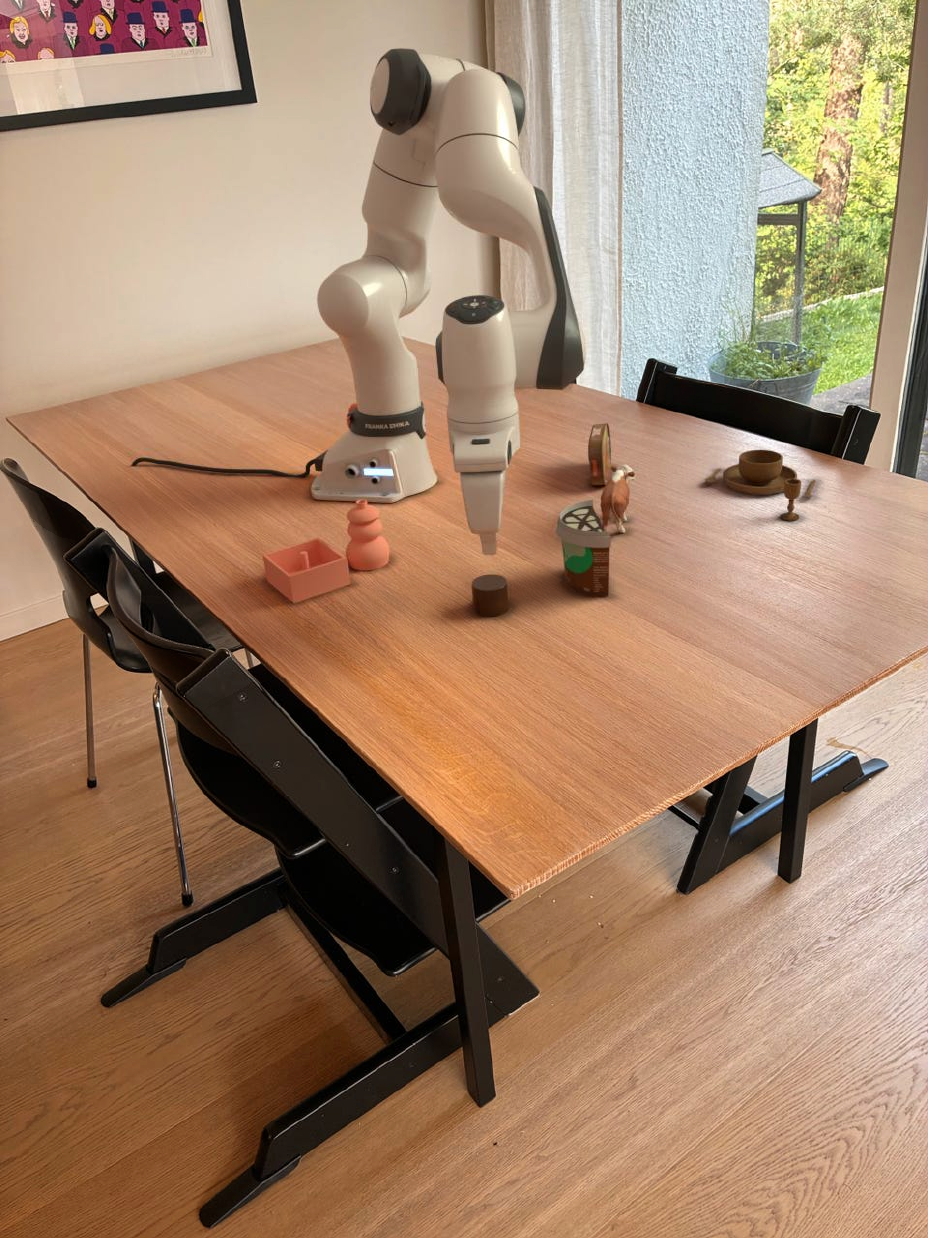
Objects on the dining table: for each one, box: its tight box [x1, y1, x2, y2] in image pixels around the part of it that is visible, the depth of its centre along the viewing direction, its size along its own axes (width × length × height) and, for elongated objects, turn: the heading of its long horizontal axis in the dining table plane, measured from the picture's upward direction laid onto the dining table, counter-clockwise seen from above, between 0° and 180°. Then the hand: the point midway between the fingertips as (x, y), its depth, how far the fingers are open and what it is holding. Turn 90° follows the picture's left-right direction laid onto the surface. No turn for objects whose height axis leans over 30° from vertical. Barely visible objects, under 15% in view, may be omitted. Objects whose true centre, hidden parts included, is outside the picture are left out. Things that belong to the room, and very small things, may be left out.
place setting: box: [704, 449, 816, 522], centre depth 162 cm, size 18×20×6 cm
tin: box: [587, 422, 612, 486], centre depth 173 cm, size 15×3×8 cm, turn 168°
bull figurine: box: [600, 464, 636, 534], centre depth 154 cm, size 4×13×8 cm, turn 161°
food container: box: [555, 499, 612, 597], centre depth 137 cm, size 12×6×10 cm, turn 5°
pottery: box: [261, 499, 391, 604], centre depth 146 cm, size 18×10×10 cm, turn 123°
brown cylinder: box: [471, 573, 510, 618], centre depth 134 cm, size 5×5×4 cm
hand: (492, 537), depth 130 cm, fingers open, 8 cm apart
